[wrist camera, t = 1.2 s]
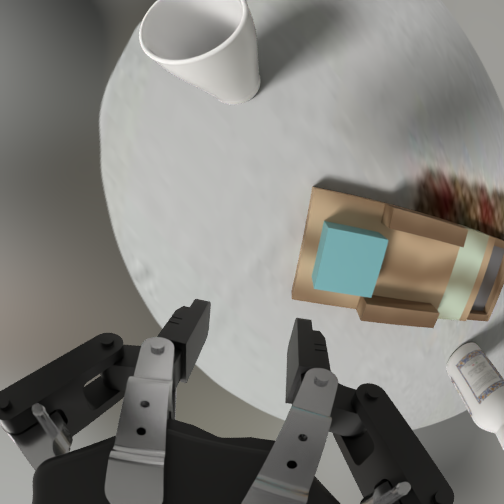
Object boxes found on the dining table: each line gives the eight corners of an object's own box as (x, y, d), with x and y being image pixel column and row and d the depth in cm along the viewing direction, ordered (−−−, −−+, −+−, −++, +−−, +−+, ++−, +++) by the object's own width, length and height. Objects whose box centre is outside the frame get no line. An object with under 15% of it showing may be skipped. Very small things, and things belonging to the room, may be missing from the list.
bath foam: (467, 370, 32) (512, 450, 13) (439, 376, 33) (482, 467, 14) (482, 338, 30) (540, 417, 11) (454, 343, 31) (512, 435, 12)
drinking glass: (217, 52, 23) (163, -20, 9) (276, 65, 23) (265, -16, 9) (196, 104, 26) (120, 61, 11) (256, 119, 26) (224, 73, 11)
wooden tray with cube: (312, 186, 27) (317, 190, 23) (509, 242, 25) (528, 252, 21) (291, 291, 31) (292, 310, 27) (483, 316, 29) (497, 331, 24)
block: (323, 220, 26) (328, 227, 23) (378, 232, 26) (388, 240, 23) (311, 276, 28) (313, 289, 25) (363, 285, 28) (371, 297, 25)
